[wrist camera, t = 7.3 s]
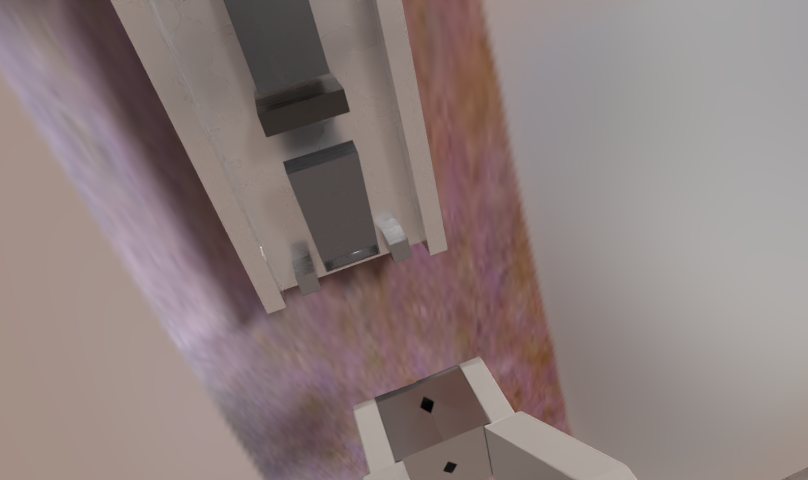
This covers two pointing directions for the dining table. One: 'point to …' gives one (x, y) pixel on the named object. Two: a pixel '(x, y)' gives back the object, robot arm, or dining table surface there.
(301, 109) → the fuse holder
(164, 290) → the dining table surface
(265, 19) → the strap
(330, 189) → the strap
